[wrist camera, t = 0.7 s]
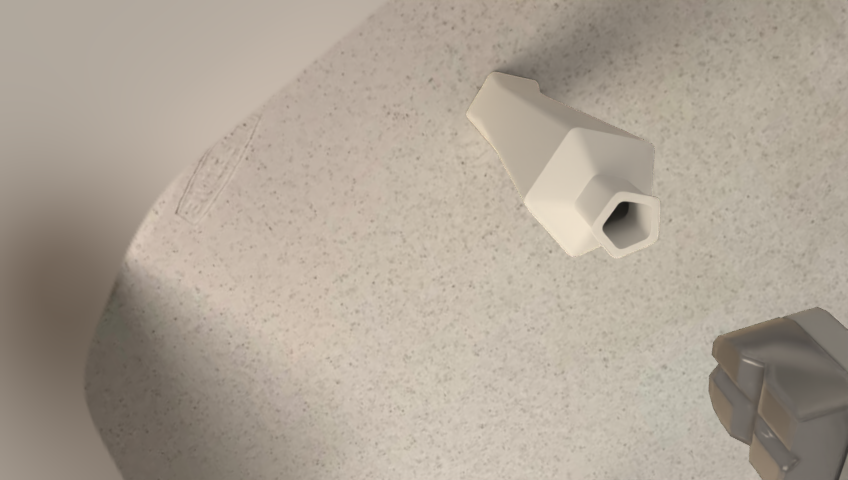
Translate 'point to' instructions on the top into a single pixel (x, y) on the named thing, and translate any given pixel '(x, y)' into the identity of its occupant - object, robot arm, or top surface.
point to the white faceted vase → (570, 167)
